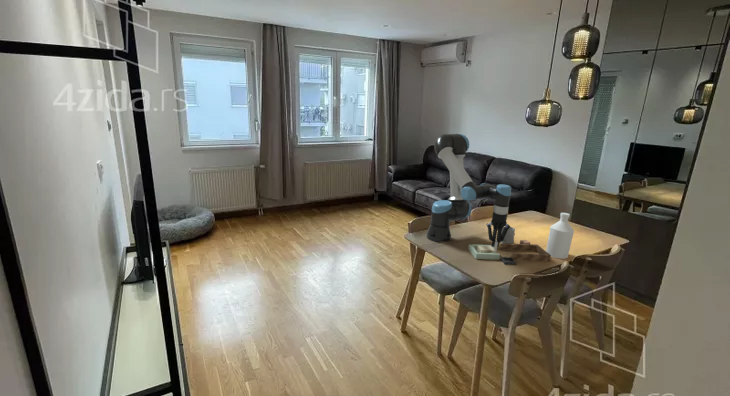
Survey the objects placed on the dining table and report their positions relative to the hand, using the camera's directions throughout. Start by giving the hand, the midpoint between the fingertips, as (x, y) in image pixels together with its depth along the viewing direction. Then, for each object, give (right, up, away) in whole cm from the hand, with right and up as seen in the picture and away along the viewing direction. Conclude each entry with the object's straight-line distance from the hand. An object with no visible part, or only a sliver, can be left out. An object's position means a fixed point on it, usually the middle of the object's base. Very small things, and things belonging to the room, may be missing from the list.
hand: (494, 251), depth 198 cm
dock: (-6, -1, 0) cm, 6 cm away
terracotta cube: (+23, +1, +13) cm, 26 cm away
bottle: (+38, -2, +4) cm, 38 cm away
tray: (+4, -4, -8) cm, 10 cm away
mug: (+13, +2, +17) cm, 22 cm away
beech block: (-5, -2, 0) cm, 5 cm away
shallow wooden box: (+18, -2, +2) cm, 18 cm away
